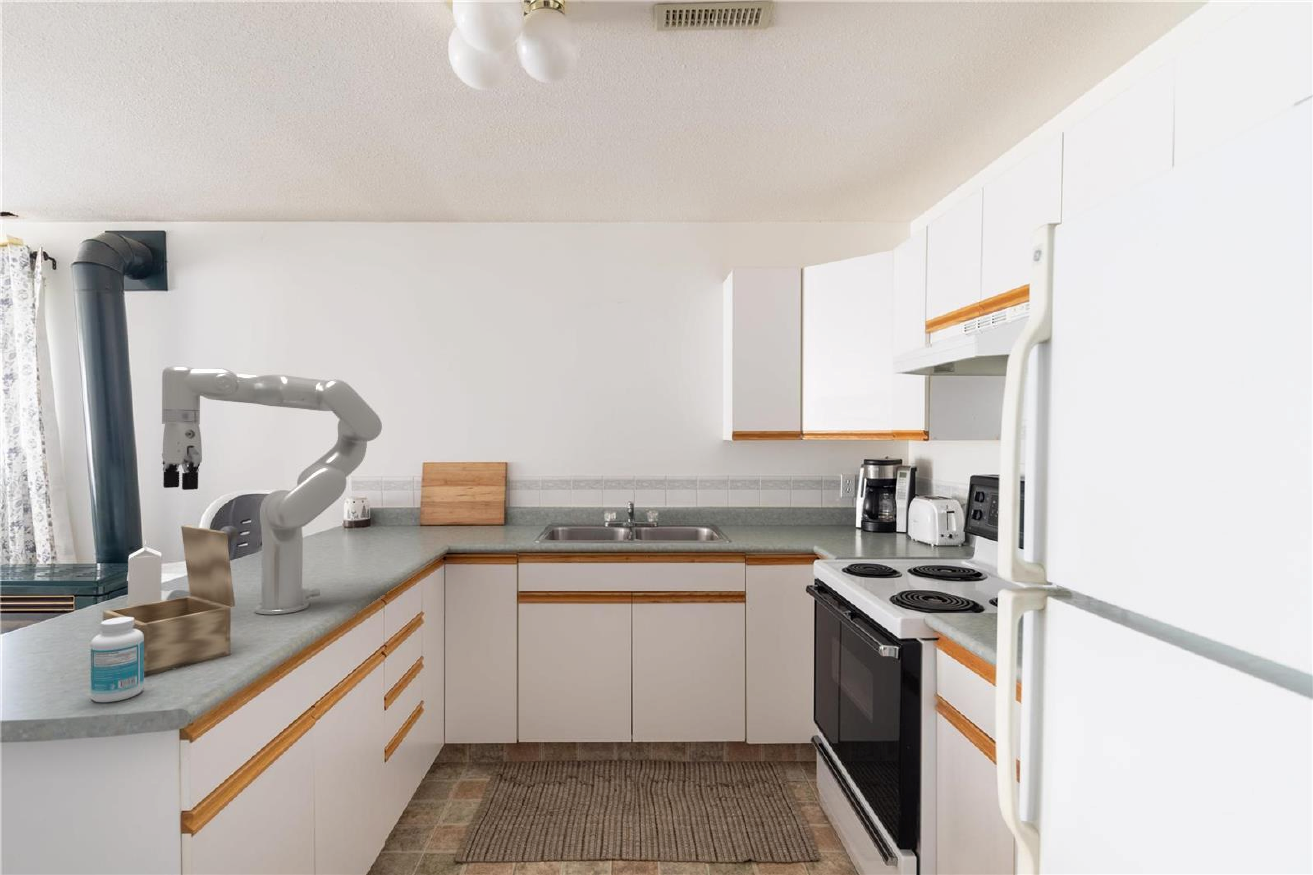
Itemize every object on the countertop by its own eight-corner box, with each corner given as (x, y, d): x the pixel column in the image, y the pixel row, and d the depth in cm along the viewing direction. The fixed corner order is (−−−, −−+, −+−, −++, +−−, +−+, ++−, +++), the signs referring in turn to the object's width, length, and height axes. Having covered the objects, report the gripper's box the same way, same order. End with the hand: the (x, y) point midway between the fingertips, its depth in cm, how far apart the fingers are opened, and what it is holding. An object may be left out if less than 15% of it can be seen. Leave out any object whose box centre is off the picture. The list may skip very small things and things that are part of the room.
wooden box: (190, 640, 151) (190, 595, 151) (230, 654, 141) (230, 607, 141) (102, 659, 137) (103, 611, 137) (140, 677, 128) (140, 625, 128)
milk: (127, 644, 148) (127, 544, 148) (128, 637, 153) (128, 541, 152) (161, 639, 151) (161, 542, 151) (161, 632, 156) (161, 538, 156)
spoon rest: (169, 603, 184) (169, 577, 184) (217, 600, 187) (217, 575, 187) (127, 627, 161) (127, 597, 161) (184, 623, 165) (184, 594, 165)
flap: (190, 595, 151) (224, 585, 157) (231, 607, 141) (266, 596, 147) (181, 526, 149) (216, 519, 155) (222, 533, 139) (258, 525, 146)
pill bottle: (110, 688, 122) (111, 614, 122) (153, 687, 123) (154, 614, 123) (79, 704, 115) (79, 626, 115) (124, 703, 115) (125, 625, 115)
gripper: (215, 418, 161) (214, 489, 161) (182, 418, 170) (181, 485, 170) (180, 417, 154) (179, 491, 154) (147, 417, 164) (146, 487, 164)
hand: (180, 488), depth 162 cm, fingers open, 9 cm apart
